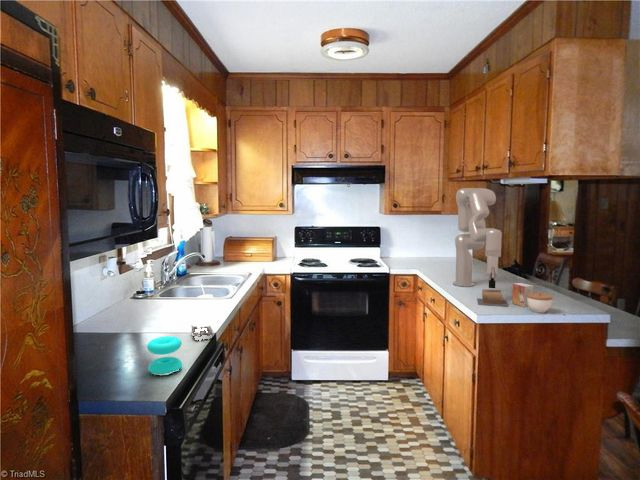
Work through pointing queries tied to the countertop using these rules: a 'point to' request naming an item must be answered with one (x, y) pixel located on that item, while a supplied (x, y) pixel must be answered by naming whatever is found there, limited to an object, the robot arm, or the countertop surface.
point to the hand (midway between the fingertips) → (491, 287)
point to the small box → (521, 294)
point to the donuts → (163, 347)
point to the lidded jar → (539, 302)
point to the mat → (504, 303)
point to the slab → (492, 296)
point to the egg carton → (203, 331)
